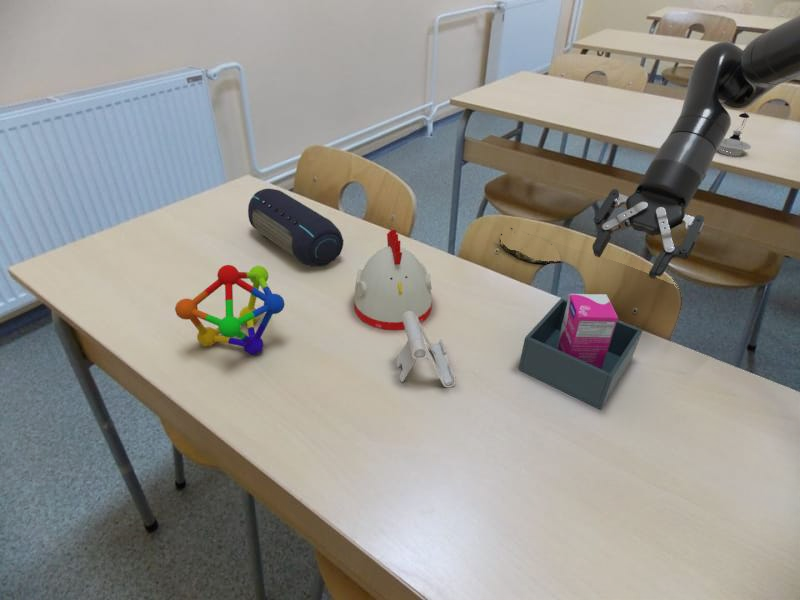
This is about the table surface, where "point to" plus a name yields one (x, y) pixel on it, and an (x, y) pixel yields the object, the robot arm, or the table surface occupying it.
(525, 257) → the dark brown curved strip
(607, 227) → the robot arm
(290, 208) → the portable speaker
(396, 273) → the kitchen timer
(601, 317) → the supplement box
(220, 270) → the educational toy
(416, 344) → the tablet stand
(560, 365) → the bin
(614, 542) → the table surface
